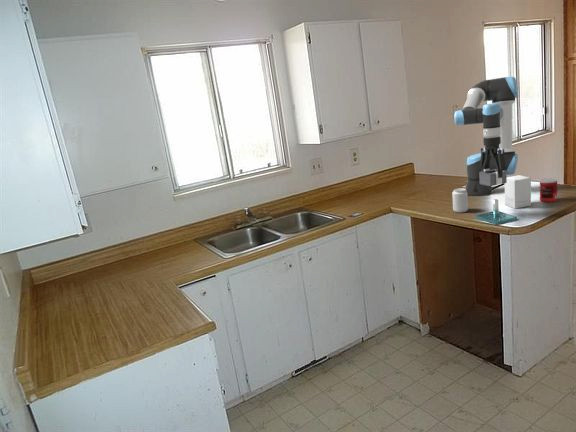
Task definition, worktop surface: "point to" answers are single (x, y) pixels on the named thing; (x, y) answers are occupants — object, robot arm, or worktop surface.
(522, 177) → the supplement box
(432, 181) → the worktop surface
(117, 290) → the worktop surface
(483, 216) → the plate
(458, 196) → the can
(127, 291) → the worktop surface
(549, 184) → the canned food
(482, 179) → the grey open box
